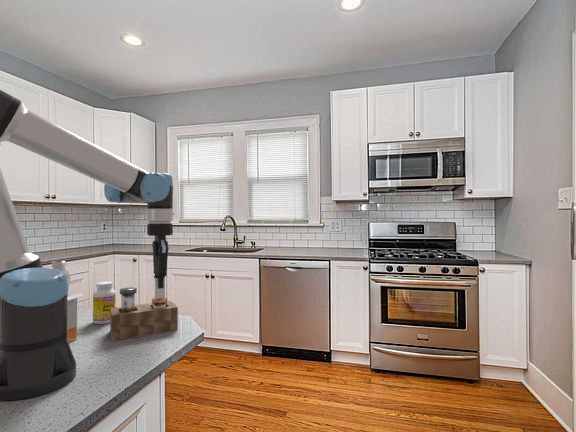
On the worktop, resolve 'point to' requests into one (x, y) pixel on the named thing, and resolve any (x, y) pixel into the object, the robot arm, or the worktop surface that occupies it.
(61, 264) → the plastic bottle
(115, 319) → the walnut block
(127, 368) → the worktop surface
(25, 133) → the robot arm
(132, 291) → the charcoal plunger
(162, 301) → the rust plunger
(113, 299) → the supplement bottle
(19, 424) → the worktop surface
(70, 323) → the skincare box
